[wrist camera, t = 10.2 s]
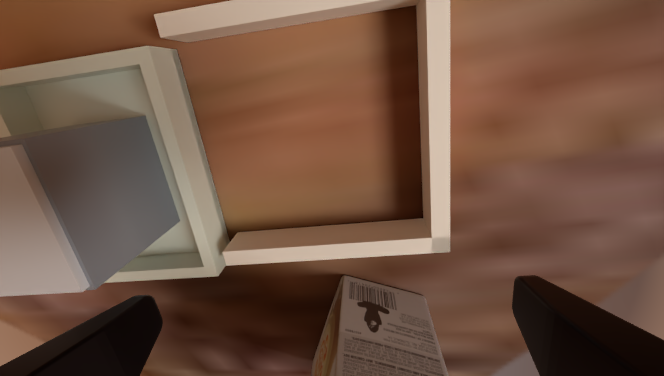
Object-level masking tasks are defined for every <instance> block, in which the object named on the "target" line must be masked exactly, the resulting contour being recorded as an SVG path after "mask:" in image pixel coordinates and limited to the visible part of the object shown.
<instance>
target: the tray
mask: <svg viewBox="0 0 664 376" xmlns="http://www.w3.org/2000/svg"><path fill="white" fill-rule="evenodd" d="M138 116H146V119H147V122H148V125H149V128H150V131H151V134H152V137H153V140H154V143H155V146H156V149H157V152H158V155H159V158H160V161H161V164H162V167H163V170H164V173H165V176H166V179H167V182H168V185H169V188H170V191H171V194H172V197H173V200H174V203H175V206H176V209H177V213H178V216H179V219H180V222H178V223H177V224H176V225H175V226H173V227H172V228H171V229H170V230H169V231H167V232H166V233H165V234H164V235H162V236H161V237H160V238H159V239H157V240H156V241H155V242H154V243H152V244H151V245H150V246H149V247H148V248H146V249H145V250H144V251H143V252H141V253H140V254H139V255H138V256H136V257H135V258H134V259H133V260H131V261H130V262H129V263H128V264H126V265H125V266H124V267H123V268H122V269H120V270H119V271H118V272H117V273H115V274H114V275H113V276H112V277H110V278H109V279H108V280H107V281H105V282H104V283H109V282H127V281H145V280H162V279H180V278H198V277H215V276H219V274H220V273H221V272H222V270H223V269H224V267H225V266H226V263H225V259H224V256H223V250H224V249H225V248H226V247H227V245H228V244H229V243H230V240H229V236H228V233H227V229H226V226H225V222H224V218H223V215H222V211H221V208H220V204H219V200H218V197H217V193H216V189H215V186H214V182H213V179H212V175H211V171H210V168H209V164H208V160H207V157H206V153H205V150H204V146H203V142H202V139H201V135H200V131H199V128H198V124H197V121H196V117H195V113H194V110H193V106H192V103H191V99H190V95H189V92H188V88H187V84H186V81H185V77H184V74H183V70H182V66H181V63H180V59H179V55H178V52H177V49H170V48H162V47H155V46H142V47H136V48H130V49H124V50H118V51H112V52H106V53H100V54H94V55H88V56H82V57H76V58H70V59H64V60H58V61H52V62H46V63H40V64H34V65H28V66H22V67H16V68H10V69H4V70H0V138H2V137H8V136H14V135H20V134H25V133H31V132H37V131H42V130H48V129H54V128H59V127H65V126H71V125H78V124H85V123H93V122H100V121H108V120H115V119H123V118H130V117H138Z"/></svg>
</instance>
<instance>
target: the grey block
mask: <svg viewBox="0 0 664 376" xmlns="http://www.w3.org/2000/svg"><path fill="white" fill-rule="evenodd" d="M178 222H180V219H179V216H178V213H177V209H176V206H175V203H174V200H173V197H172V194H171V191H170V188H169V185H168V182H167V179H166V176H165V173H164V170H163V167H162V164H161V161H160V158H159V155H158V152H157V149H156V146H155V143H154V140H153V137H152V134H151V131H150V128H149V125H148V122H147V119H146V116H138V117H130V118H123V119H115V120H108V121H100V122H93V123H85V124H78V125H71V126H65V127H59V128H54V129H48V130H42V131H37V132H31V133H25V134H20V135H14V136H8V137H2V138H0V296H17V295H35V294H54V293H73V292H83V291H84V290H96V289H97V288H98V287H99V286H101V285H102V284H103V283H104V282H105V281H107V280H108V279H109V278H110V277H112V276H113V275H114V274H115V273H117V272H118V271H119V270H120V269H122V268H123V267H124V266H125V265H126V264H128V263H129V262H130V261H131V260H133V259H134V258H135V257H136V256H138V255H139V254H140V253H141V252H143V251H144V250H145V249H146V248H148V247H149V246H150V245H151V244H152V243H154V242H155V241H156V240H157V239H159V238H160V237H161V236H162V235H164V234H165V233H166V232H167V231H169V230H170V229H171V228H172V227H173V226H175V225H176V224H177V223H178Z"/></svg>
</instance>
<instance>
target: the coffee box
mask: <svg viewBox="0 0 664 376" xmlns="http://www.w3.org/2000/svg"><path fill="white" fill-rule="evenodd" d="M311 376H448V373H447V369H446V366H445V363H444V359H443V356H442V353H441V349H440V346H439V343H438V339H437V336H436V332H435V328H434V326H433V322H432V319H431V315H430V312H429V309H428V305H427V302H426V299H425V297H424V296H422V295H419V294H415V293H411V292H407V291H404V290H400V289H396V288H392V287H388V286H385V285H381V284H377V283H373V282H369V281H365V280H362V279H358V278H354V277H350V276H347V275H343V276H342V278H341V280H340V283H339V285H338V288H337V291H336V294H335V297H334V300H333V303H332V306H331V309H330V311H329V314H328V317H327V320H326V323H325V326H324V329H323V332H322V335H321V338H320V341H319V344H318V347H317V350H316V353H315V356H314V359H313V364H312V370H311Z"/></svg>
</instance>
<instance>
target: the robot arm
mask: <svg viewBox="0 0 664 376" xmlns="http://www.w3.org/2000/svg"><path fill="white" fill-rule="evenodd" d="M512 309H513V314H514V317H515V319H516V321H517V324H518V326H519V328H520V331H521V333H522V335H523V338H524V340H525V342H526V345H527V347H528V349H529V352H530V354H531V356H532V359H533V361H534V363H535V365H536V368H537V370H538V372H539V375H540V376H664V340H662V339H661V338H659V337H656V336H655V335H652V334H651V333H649V332H647V331H644V330H643V329H641V328H639V327H637V326H635V325H633V324H631V323H629V322H627V321H625V320H623V319H621V318H619V317H617V316H615V315H613V314H611V313H609V312H607V311H605V310H603V309H601V308H600V307H598V306H596V305H594V304H592V303H590V302H588V301H586V300H584V299H582V298H580V297H578V296H576V295H574V294H572V293H570V292H568V291H566V290H564V289H562V288H560V287H558V286H556V285H554V284H552V283H550V282H548V281H546V280H544V279H542V278H541V277H538V276H535V275H531V276H518V277H517V278H516V279H515V281H514V290H513V302H512ZM162 324H163V321H162V317H161V314H160V312H159V309H158V307H157V304H156V302H155V300H154V298H153V297H152V296H150V295H138V296H133V297H131V298H129V299H128V300H126V301H124V302H122V303H120V304H118V305H116V306H114V307H112V308H110V309H109V310H107V311H105V312H103V313H101V314H99V315H97V316H95V317H93V318H91V319H90V320H88V321H86V322H84V323H82V324H80V325H78V326H76V327H74V328H72V329H70V330H69V331H67V332H65V333H63V334H61V335H59V336H57V337H55V338H53V339H51V340H50V341H48V342H46V343H44V344H42V345H40V346H39V347H36V348H34V349H33V350H31V351H29V352H27V353H25V354H23V355H21V356H19V357H18V358H15V359H13V360H12V361H10V362H8V363H6V364H4V365H2V366H0V376H140V374H141V372H142V369H143V367H144V365H145V363H146V361H147V359H148V357H149V355H150V352H151V350H152V348H153V346H154V344H155V342H156V340H157V337H158V335H159V333H160V331H161V329H162Z"/></svg>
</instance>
